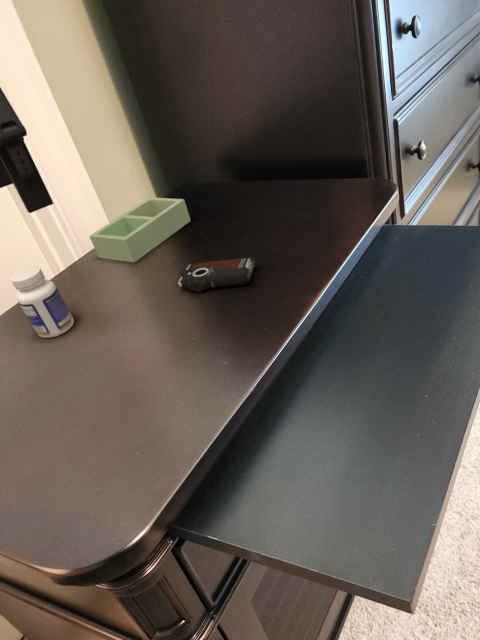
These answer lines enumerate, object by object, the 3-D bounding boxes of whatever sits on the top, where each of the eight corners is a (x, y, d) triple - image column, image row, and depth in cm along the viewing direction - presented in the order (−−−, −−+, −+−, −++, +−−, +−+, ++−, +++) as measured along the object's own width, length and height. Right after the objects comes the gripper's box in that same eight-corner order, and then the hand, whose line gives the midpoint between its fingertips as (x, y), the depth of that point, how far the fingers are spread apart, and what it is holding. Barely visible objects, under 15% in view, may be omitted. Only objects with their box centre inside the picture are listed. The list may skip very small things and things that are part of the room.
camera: (244, 274, 73) (171, 282, 75) (249, 291, 75) (178, 298, 77) (251, 249, 77) (182, 257, 79) (256, 266, 79) (189, 273, 81)
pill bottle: (72, 313, 78) (43, 259, 72) (77, 329, 74) (47, 273, 68) (36, 326, 76) (4, 272, 71) (39, 343, 73) (5, 287, 67)
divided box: (98, 258, 91) (88, 236, 89) (156, 218, 101) (149, 197, 98) (134, 262, 87) (125, 239, 85) (190, 220, 97) (184, 199, 94)
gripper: (-21, -64, 41) (93, 204, 55) (-84, -34, 56) (17, 168, 70) (-125, -47, 37) (24, 233, 51) (-162, -20, 53) (-39, 189, 67)
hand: (20, 196), depth 61 cm, fingers open, 13 cm apart
